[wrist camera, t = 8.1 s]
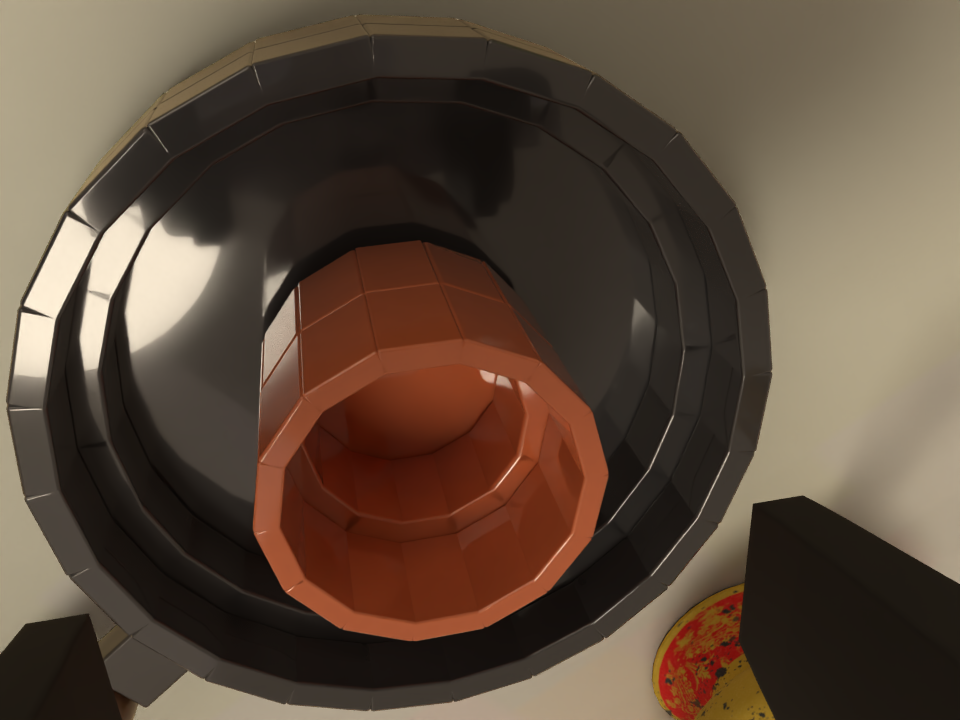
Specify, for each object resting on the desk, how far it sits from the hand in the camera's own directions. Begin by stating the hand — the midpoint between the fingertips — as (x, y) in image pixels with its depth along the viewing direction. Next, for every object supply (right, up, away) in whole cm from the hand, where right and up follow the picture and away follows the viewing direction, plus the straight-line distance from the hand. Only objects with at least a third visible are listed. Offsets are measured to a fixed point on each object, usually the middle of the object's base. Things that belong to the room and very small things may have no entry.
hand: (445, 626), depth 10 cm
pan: (-1, +3, +8) cm, 9 cm away
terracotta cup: (-1, +3, +8) cm, 9 cm away
